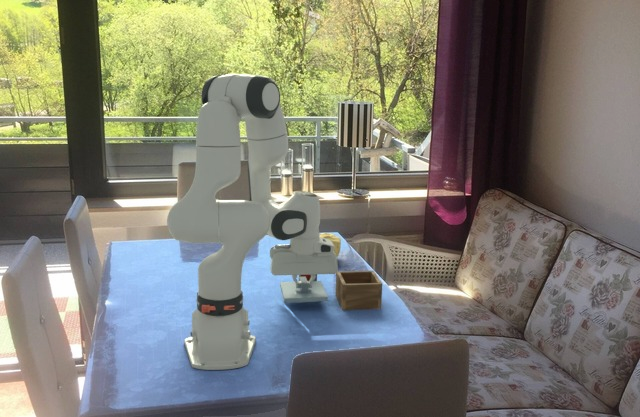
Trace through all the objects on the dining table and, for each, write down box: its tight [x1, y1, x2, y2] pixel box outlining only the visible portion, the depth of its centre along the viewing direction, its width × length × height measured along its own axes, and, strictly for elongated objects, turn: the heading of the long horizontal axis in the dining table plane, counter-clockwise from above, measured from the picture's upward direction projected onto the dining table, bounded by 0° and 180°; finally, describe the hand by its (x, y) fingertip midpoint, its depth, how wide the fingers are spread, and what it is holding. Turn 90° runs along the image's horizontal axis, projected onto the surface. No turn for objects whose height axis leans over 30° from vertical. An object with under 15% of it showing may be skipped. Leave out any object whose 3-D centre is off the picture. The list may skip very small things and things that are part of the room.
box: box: [335, 270, 383, 311], centre depth 198 cm, size 12×12×9 cm
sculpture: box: [320, 232, 342, 258], centre depth 239 cm, size 12×12×11 cm
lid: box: [279, 276, 329, 304], centre depth 195 cm, size 13×13×5 cm
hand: (303, 287), depth 195 cm, fingers closed on lid
